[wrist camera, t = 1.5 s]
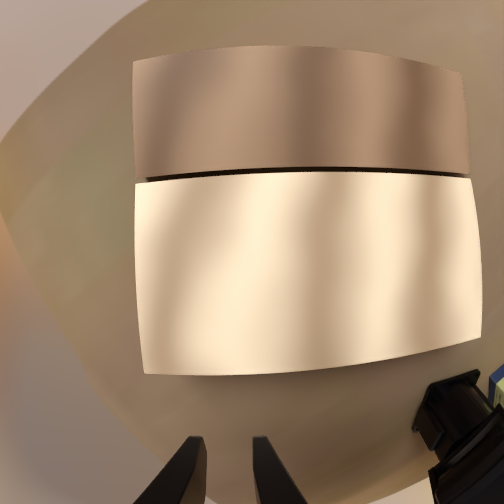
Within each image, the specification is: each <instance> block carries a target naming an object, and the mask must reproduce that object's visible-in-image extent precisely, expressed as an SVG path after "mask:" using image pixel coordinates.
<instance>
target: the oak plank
mask: <svg viewBox="0 0 504 504" xmlns="http://www.w3.org/2000/svg"><path fill="white" fill-rule="evenodd" d="M135 271H136V292H137V307H138V320H139V331H140V342H141V351H142V359H143V367H144V373H148V374H169V375H245V374H266V373H281V372H294V371H305V370H315V369H324V368H333V367H341V366H348V365H355V364H362V363H368V362H374V361H380V360H386V359H391V358H397V357H402V356H407V355H412V354H416V353H421V352H425V351H430V350H434V349H438V348H442V347H446V346H450V345H454V344H458V343H462V342H465V341H469V340H472V339H476V338H479V337H481V322H482V270H481V253H480V241H479V231H478V222H477V215H476V208H475V201H474V195H473V189H472V184H471V179H468V178H458V177H446V176H433V175H418V174H400V173H373V172H289V173H261V174H241V175H225V176H211V177H199V178H187V179H177V180H167V181H158V182H149V183H141V184H136V190H135Z"/></svg>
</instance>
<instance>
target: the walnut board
mask: <svg viewBox="0 0 504 504" xmlns="http://www.w3.org/2000/svg"><path fill="white" fill-rule="evenodd" d="M133 138H134V157H135V172H136V179H137V178H145V177H154V176H162V175H172V174H181V173H192V172H204V171H216V170H231V169H248V168H270V167H312V166H339V167H380V168H401V169H418V170H431V171H443V172H454V173H463V174H469V138H468V124H467V113H466V104H465V96H464V88H463V82H462V76H461V73H457V72H454V71H451V70H447V69H444V68H440V67H437V66H433V65H429V64H425V63H421V62H417V61H413V60H408V59H403V58H398V57H393V56H388V55H382V54H376V53H370V52H363V51H355V50H347V49H337V48H325V47H309V46H244V47H228V48H216V49H206V50H197V51H190V52H183V53H176V54H170V55H164V56H159V57H153V58H148V59H143V60H139V61H134V62H133Z"/></svg>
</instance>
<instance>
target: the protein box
mask: <svg viewBox="0 0 504 504" xmlns="http://www.w3.org/2000/svg"><path fill="white" fill-rule="evenodd" d="M489 401H490V402H491V404H492V405H493V406H494V407H495V406H496V405H497V404H498V403H499V402H500V403H502V404H504V364H503V365H502V366H501V367H500V368H499V369H498V370H496V371H495V372H494V373H493V374H492V375H491V376H490V385H489Z"/></svg>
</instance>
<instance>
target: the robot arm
mask: <svg viewBox="0 0 504 504" xmlns="http://www.w3.org/2000/svg"><path fill="white" fill-rule="evenodd" d="M479 376H480V371H479V370H478V369H476V370H473V371H470V372H467V373H464V374H461V375H458V376H455V377H452V378H449V379H446V380H442V381H439V382H435V383H433V384H431V385H430V386H429V387H428V389H427V392H426V394H425V397H424V400H423V402H422V405H421V407H420V410H419V412H418V415H417V417H416V420H415V422H414V424H413V427H412V430H413V432H418V431H419V432H420V434H421V436H422V438H423V439H424V441H425V443H426V445H427V447H428V449H429V450H430V451H434V452H435V453H436V455H437V457H438V459H439V461H440V462H439V463H438V464H437V465H436V466H435V467H432V468H431V469H430V470H428V474H429V479H430V484H431V489H432V494H433V499H434V504H504V404H502V403H500V402H499V403H498V404H497V405H496V406H495V407H494V406H493V405H492V404H491V402H490V401H489V400H488V399H487V398H486V396H485V395H484V394H483V393H482V392H481V390H480V389H479V388H478V387H477V386H476V383H477V380H478V378H479ZM206 469H207V451H206V447H205V443H204V440H203V438H202V437H201V436H189V437H188V438H187V439H186V441H185V442H184V443H183V444H182V446H181V447H180V448H179V449H178V451H177V452H176V453H175V454H174V456H173V457H172V458H171V459H170V461H169V462H168V463H167V464H166V465H165V467H164V468H163V469H162V470H161V471H160V473H159V474H158V475H157V476H156V477H155V479H154V480H153V481H152V482H151V483H150V485H149V486H148V487H147V488H146V490H144V492H143V493H142V494H141V495H140V496H139V497H138V498H137V500H136V501H135V502H134V503H133V504H204V502H205V495H206ZM253 473H254V483H255V492H256V499H257V504H308V503H307V502H306V500H305V499H304V497H303V496H302V494H301V492H300V491H299V489H298V488H297V486H296V485H295V483H294V481H293V480H292V478H291V477H290V475H289V473H288V472H287V470H286V468H285V467H284V465H283V464H282V462H281V460H280V459H279V457H278V455H277V453H276V452H275V450H274V448H273V447H272V445H271V443H270V442H269V440H268V438H267V437H266V436H254V437H253Z"/></svg>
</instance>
